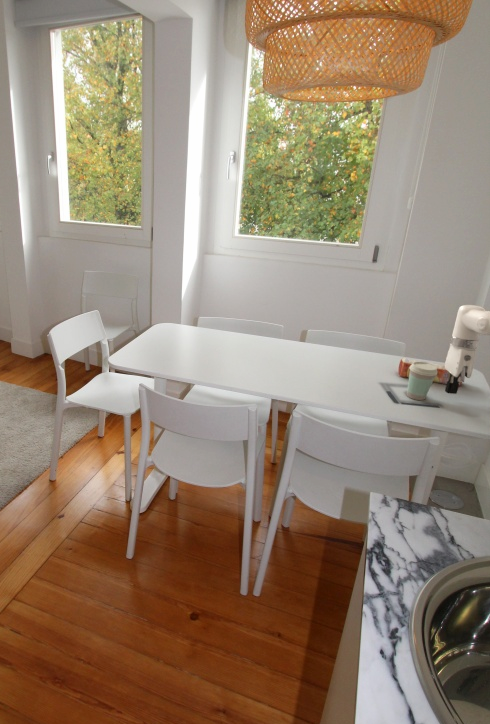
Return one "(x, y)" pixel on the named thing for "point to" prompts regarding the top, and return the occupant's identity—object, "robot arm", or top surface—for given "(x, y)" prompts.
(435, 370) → the coffee cup
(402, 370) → the snack package
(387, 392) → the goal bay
